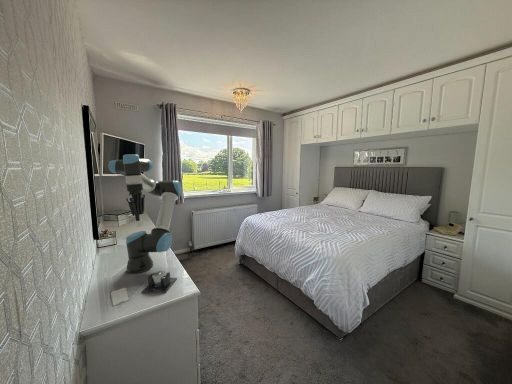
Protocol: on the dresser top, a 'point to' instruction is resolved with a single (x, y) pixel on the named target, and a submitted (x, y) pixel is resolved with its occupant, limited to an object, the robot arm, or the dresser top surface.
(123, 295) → the smartphone
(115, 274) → the dresser top surface
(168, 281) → the dark grey holder
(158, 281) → the cap
